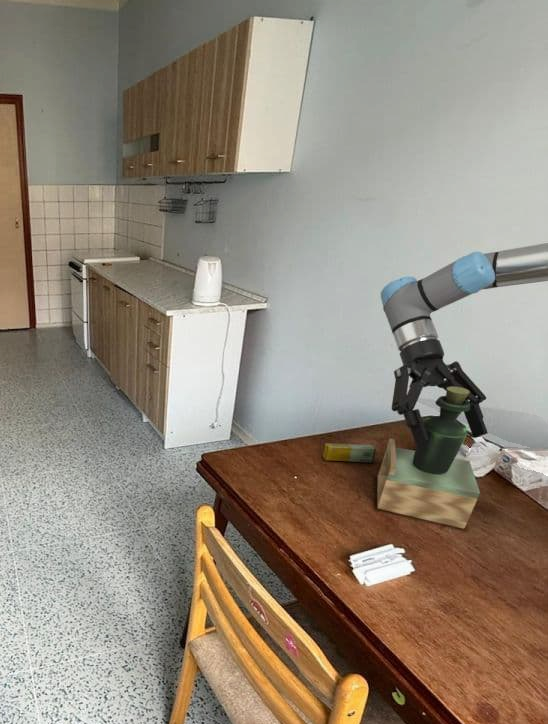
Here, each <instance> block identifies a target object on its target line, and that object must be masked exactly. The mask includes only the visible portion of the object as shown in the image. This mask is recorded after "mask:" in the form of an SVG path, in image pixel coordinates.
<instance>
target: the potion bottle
mask: <svg viewBox="0 0 548 724" xmlns="http://www.w3.org/2000/svg"><path fill="white" fill-rule="evenodd" d="M445 391H446V390H445ZM469 393H470V391H468V390H467V389H464V388H460V387H447V391H446V392H445V395H441V396H439V397H438V398H437V399H436V401H435V405H436V406H437V407H439V415H435V416H429V417H427V418H425V419H424V420H422V421H423V423H424V426H425V429H426V432H427V435H428V438H429V440H426V441H423V442H421V443H416V445H415V449H414V451H415V453H414V458H413V464H414V466H415V467H416V468H418V469H419V470H421V471H424V472H426V473H430V474H444V473H446V472H447V471H448V470H449V468H450V466H451V464H452V463H453V461H454V459H455V458H457V455H458V453H459V451H460V450H461V447H462V446H463V445H464V444H463V442H464V440H465V438H466V436H467V434H468V429H467V426H466V425H465V424H463V422H461V421H459V420H458V418H459V417H460V415H461V414H462V413H464V412H465V411H469V410H470V403H469V402H468V401H469V400H468V401H467V400H465V399H466V397H467V396H468V394H469ZM468 435H469V434H468Z"/></svg>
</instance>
